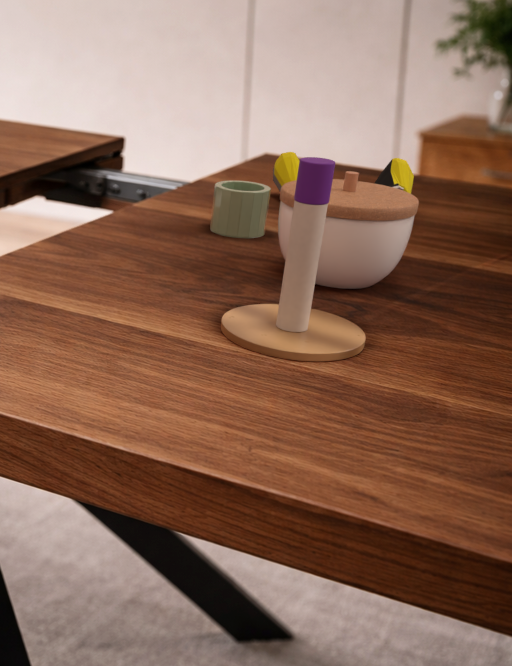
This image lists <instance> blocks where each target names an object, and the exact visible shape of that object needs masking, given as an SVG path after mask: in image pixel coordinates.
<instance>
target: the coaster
mask: <svg viewBox="0 0 512 666" xmlns="http://www.w3.org/2000/svg"><path fill="white" fill-rule="evenodd" d="M278 308H279V303H260V304H259V303H258V304H257V303H256V304H255V303H254V304H248V305H241V306H238V307H233V308H231V309H230V310H228V311H226V312H224V314H223V315H222V317H221V320H220V330H221V333H222V334H223V335H224V336H225V337H226V339H228V340H229V341H231V342H232V343H234V344H236V345H237V346H240V347H242V348H244V349H247V350H249V351H252V352H255V353H258V354H261V355H265V356H268V357H274V358H279V359H284V360H290V361H300V362H333V361H341V360H346V359H350V358H352V357H355V356H357V355H358V354H360V353H361V352H362V351H363V350H364V348H365V345H366V338H367V336H366V334H365V332H364V331H363V329H362V328H361V327H360V326H358V325H357V324H356V323H354V322H352V321H350V320H348V319H346V318H344V317H342V316H340V315H336V314H334V313H330V312H328V311H324V310H321V309H317V308H312V307H311V311H310V318H309V324H308V329H307V330H306V331H304V332H289V331H285V330H282V329H280V328H278V327H277V326H276V321H277V315H278Z"/></svg>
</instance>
